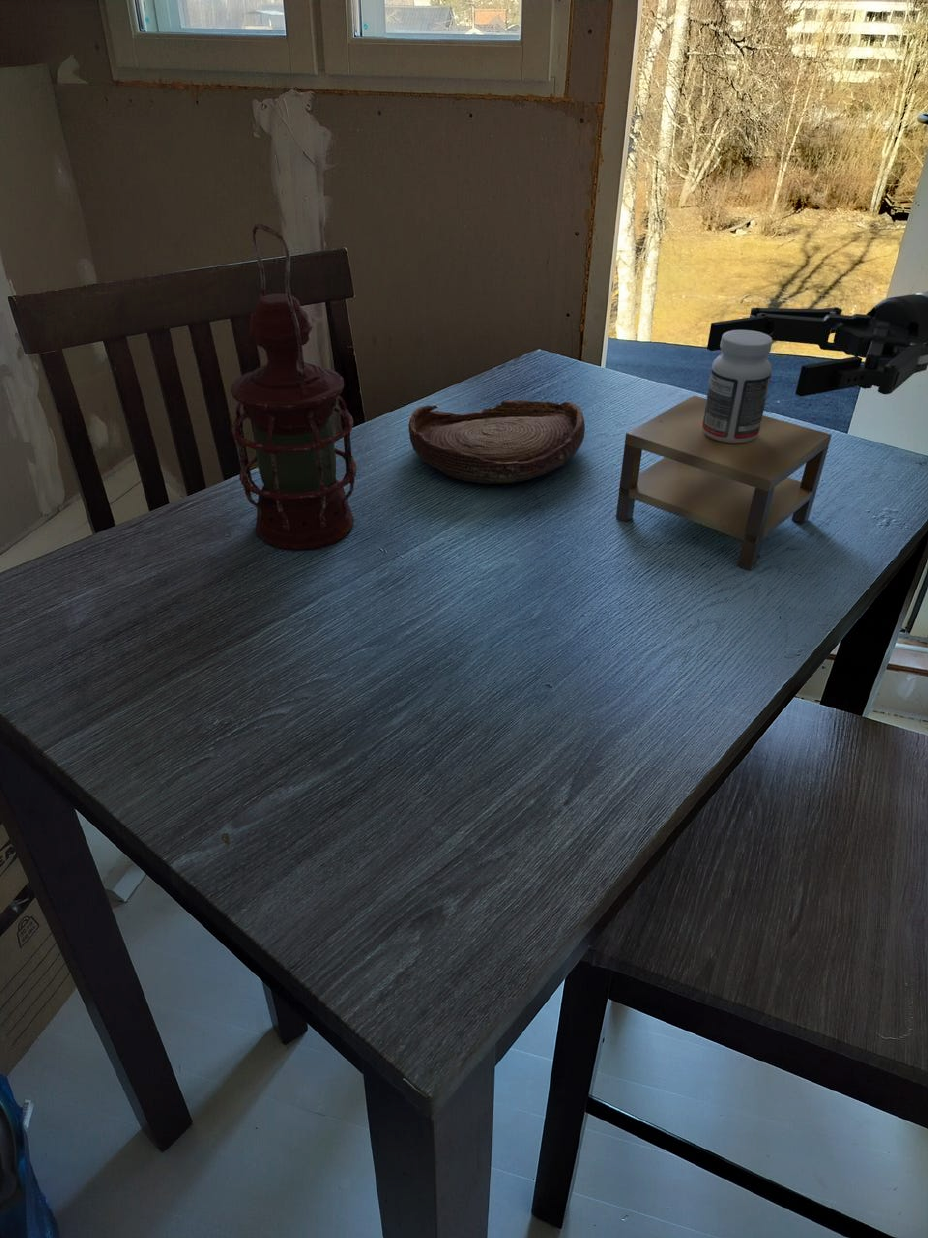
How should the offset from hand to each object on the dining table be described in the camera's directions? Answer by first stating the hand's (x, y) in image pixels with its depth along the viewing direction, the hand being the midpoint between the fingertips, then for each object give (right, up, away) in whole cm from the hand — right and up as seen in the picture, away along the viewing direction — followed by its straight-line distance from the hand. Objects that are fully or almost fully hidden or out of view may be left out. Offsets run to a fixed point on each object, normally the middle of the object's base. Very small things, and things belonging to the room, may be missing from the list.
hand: (753, 357), depth 83 cm
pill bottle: (-1, -7, +4) cm, 8 cm away
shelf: (-1, -15, +10) cm, 18 cm away
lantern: (-46, -16, +9) cm, 49 cm away
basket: (-24, -5, +24) cm, 34 cm away
